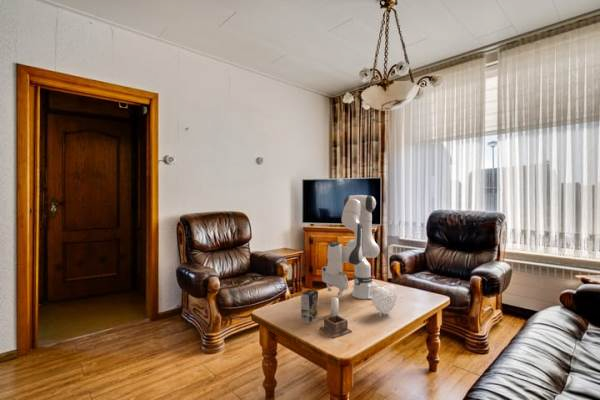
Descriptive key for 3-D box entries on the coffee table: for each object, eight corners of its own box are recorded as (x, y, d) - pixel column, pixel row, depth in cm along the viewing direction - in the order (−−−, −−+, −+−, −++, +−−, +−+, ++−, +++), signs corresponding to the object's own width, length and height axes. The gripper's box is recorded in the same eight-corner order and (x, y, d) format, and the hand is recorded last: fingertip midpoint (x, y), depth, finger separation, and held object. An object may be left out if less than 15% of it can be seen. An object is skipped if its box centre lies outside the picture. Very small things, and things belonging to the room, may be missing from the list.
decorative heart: (380, 321, 168) (380, 291, 167) (367, 314, 177) (367, 286, 176) (401, 314, 177) (402, 285, 177) (387, 308, 186) (388, 281, 186)
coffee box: (310, 324, 163) (310, 295, 163) (300, 321, 167) (300, 293, 166) (318, 318, 171) (318, 290, 171) (308, 316, 175) (308, 288, 174)
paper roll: (335, 313, 178) (335, 296, 178) (339, 315, 175) (340, 299, 174) (329, 315, 176) (329, 298, 176) (334, 317, 172) (334, 300, 172)
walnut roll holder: (336, 323, 164) (336, 312, 164) (351, 332, 154) (351, 320, 154) (319, 329, 158) (319, 318, 158) (334, 338, 148) (334, 326, 148)
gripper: (350, 273, 167) (350, 297, 168) (328, 265, 185) (328, 287, 185) (342, 274, 164) (342, 299, 164) (320, 267, 181) (320, 289, 181)
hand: (334, 293), depth 175 cm, fingers open, 8 cm apart
